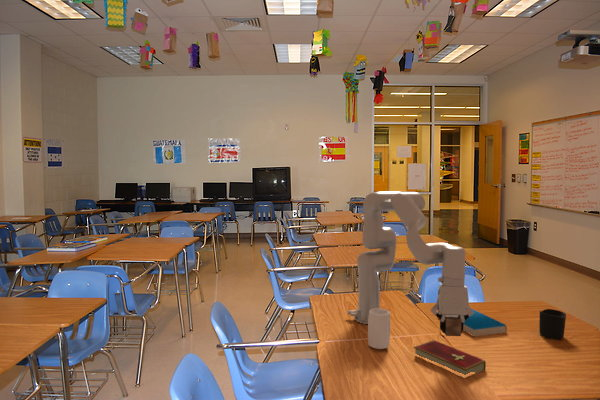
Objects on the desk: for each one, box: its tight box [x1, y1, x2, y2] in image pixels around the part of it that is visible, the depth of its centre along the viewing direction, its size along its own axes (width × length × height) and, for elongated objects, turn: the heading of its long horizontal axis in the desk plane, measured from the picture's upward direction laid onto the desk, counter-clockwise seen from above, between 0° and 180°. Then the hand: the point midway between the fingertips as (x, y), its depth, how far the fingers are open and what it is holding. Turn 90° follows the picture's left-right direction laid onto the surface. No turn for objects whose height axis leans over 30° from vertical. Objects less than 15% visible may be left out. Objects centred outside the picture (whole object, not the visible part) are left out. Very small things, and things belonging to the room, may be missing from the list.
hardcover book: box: [413, 339, 487, 375], centre depth 147 cm, size 12×21×4 cm, turn 36°
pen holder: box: [538, 308, 567, 341], centre depth 173 cm, size 9×9×10 cm
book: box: [437, 308, 508, 337], centre depth 185 cm, size 17×4×25 cm
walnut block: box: [443, 315, 462, 337], centre depth 147 cm, size 5×5×6 cm
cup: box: [367, 307, 391, 350], centre depth 159 cm, size 8×8×14 cm
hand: (451, 331), depth 147 cm, fingers closed on walnut block, 5 cm apart
